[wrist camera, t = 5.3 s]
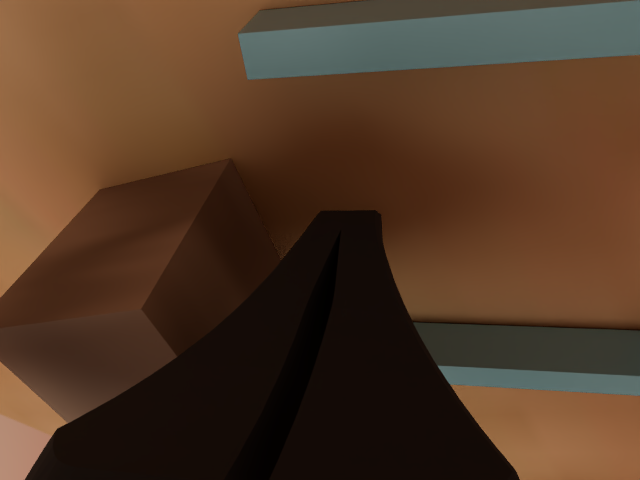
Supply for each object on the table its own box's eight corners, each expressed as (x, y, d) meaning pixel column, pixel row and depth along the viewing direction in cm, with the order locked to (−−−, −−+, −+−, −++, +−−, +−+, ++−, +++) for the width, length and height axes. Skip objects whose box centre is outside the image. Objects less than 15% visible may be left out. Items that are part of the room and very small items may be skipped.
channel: (1045, -63, 7) (1164, -44, 6) (760, 354, 13) (793, 404, 12) (259, 10, 9) (237, 33, 8) (319, 336, 15) (311, 375, 14)
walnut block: (231, 157, 12) (140, 309, 8) (289, 276, 14) (241, 439, 10) (100, 188, 13) (-32, 332, 9) (173, 293, 15) (91, 444, 12)
